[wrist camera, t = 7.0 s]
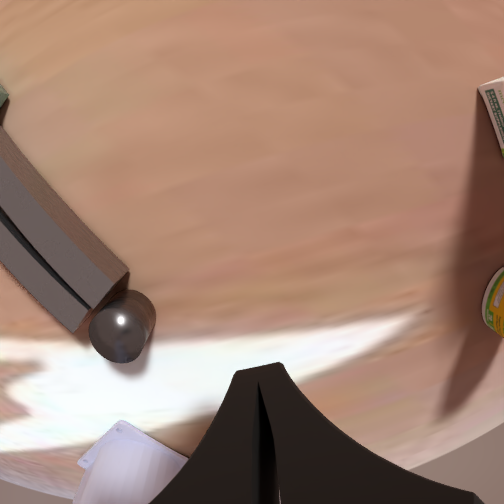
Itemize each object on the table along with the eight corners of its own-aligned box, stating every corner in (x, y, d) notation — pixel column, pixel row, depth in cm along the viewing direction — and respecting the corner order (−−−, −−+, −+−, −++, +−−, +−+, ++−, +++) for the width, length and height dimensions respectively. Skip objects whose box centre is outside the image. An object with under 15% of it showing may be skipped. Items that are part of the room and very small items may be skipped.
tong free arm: (149, 246, 17) (135, 258, 14) (110, 292, 17) (93, 309, 15) (-17, 61, 13) (-38, 54, 10) (-43, 105, 13) (-65, 102, 11)
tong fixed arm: (119, 366, 19) (103, 395, 16) (-67, 163, 14) (-93, 165, 11) (165, 312, 18) (153, 339, 15) (-40, 102, 14) (-67, 99, 10)
